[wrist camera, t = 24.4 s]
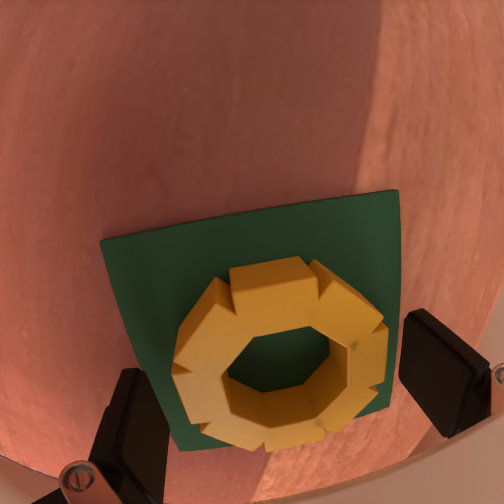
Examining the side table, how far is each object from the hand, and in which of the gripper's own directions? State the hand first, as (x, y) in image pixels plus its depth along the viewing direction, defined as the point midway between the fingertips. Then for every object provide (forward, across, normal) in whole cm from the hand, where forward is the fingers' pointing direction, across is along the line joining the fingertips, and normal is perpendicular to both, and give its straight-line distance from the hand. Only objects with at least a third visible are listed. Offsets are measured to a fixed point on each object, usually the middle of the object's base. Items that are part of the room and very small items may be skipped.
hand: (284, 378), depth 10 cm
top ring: (+2, 0, 0) cm, 2 cm away
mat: (+2, 0, 0) cm, 2 cm away
